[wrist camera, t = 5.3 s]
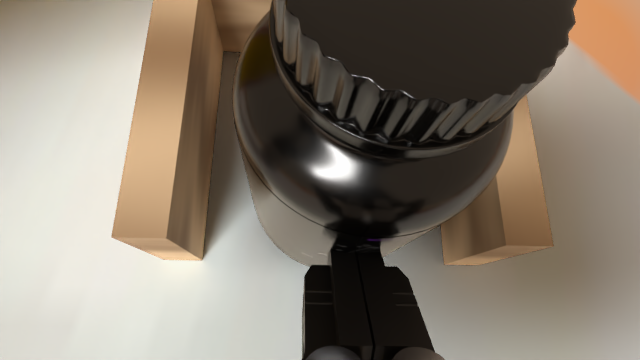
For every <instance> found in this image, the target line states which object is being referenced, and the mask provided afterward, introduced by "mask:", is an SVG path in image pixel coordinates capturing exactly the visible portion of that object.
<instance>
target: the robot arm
mask: <svg viewBox="0 0 640 360" xmlns="http://www.w3.org/2000/svg"><path fill="white" fill-rule="evenodd" d="M302 360H445V359H444V358H443V357H441V356H440V355H439V354H437V353H435V351H434V348H433V346H432V343H431V340H430V337H429V334H428V332H427V329H426V326H425V323H424V321H423V318H422V315H421V312H420V309H419V307H418V306H417V301H416V298H415V296H414V295H413V290H412V287H411V285H410V282H409V279H408V278H407V277H406V276H405V275H404V274H403V272H402V271H401V270H400V269H399V268H398V267H385V265H384V261H383V258H382V254H381V252H376V253H362V254H361V253H357V254H356V255H355V253H344V252H336V251H331V250H330V252H329V253H328V261H327V265H311V267H310V268H309V270H308V271H307V273H306V275H305V277H304V294H303V311H302Z"/></svg>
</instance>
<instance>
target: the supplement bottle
mask: <svg viewBox="0 0 640 360" xmlns="http://www.w3.org/2000/svg"><path fill="white" fill-rule="evenodd" d="M576 1H577V0H272V2H271V7H270V10H269V11H268V12H267V13H266V14H265V15H264V16H263V18H262V19H261V20H260V21H259V23H258V24H257V25H256V26H255V28H254V29H253V31H252V32H251V34H250V35H249V37H248V39H247V40H246V42H245V45H244V47H243V49H242V51H241V53H240V56H239V59H238V62H237V65H236V70H235V74H234V79H233V88H232V104H233V114H234V122H235V128H236V132H237V136H238V140H239V145H240V149H241V153H242V157H243V161H244V166H245V170H246V174H247V178H248V182H249V186H250V191H251V195H252V199H253V203H254V207H255V210H256V213H257V216H258V219H259V221H260V223H261V225H262V227H263V229H264V231H265V232H266V234H267V235H268V237H269V238H270V239H271V241H272V242H273V243H274V244H275V245H276V246H277V247H278V248H279V249H280V250H281V251H282V252H283V253H285V254H286V255H288V256H289V257H290V258H292V259H294V260H295V261H297V262H299V263H301V264H304V265H306V266H309V267H311V265H327V261H328V253H329V252H330V250H331V251H336V252H344V253H355V255H356V254H357V253H361V254H362V253H376V252H381V254H382V258H383V257H384V256H386V255H388V254H390V253H391V252H393V251H395V250H397V249H399V248H400V247H402V246H404V245H406V244H407V243H409V242H411V241H413V240H415V239H416V238H418V237H420V236H422V235H423V234H425V233H427V232H429V231H430V230H432V229H434V228H436V227H438V226H439V225H441V224H443V223H445V222H446V221H448V220H450V219H451V218H452V217H454V216H455V215H457V214H458V213H460V212H461V211H463V210H464V209H465V208H467V207H468V206H469V205H470V204H471V203H472V202H474V201H475V200H476V199H477V198H478V197H479V196H480V195H481V194H482V193H483V192H484V191H485V190H486V189H487V187H488V186H489V184H490V183H491V182H492V180H493V179H494V178H495V176H496V174H497V172H498V171H499V169H500V167H501V165H502V163H503V161H504V158H505V156H506V153H507V150H508V147H509V143H510V140H511V134H512V129H513V118H514V108H515V107H516V105H517V104H518V102H519V101H520V100H521V99H522V98H523V97H524V96H525V95H526V94H527V93H528V92H529V91H530V90H532V89H533V88H534V87H535V86H536V85H537V84H538V83H539V82H540V81H542V80H543V79H544V78H545V77H546V76H547V75H548V74H549V73H550V72H551V70H552V69H553V67H554V66H555V63H556V60H557V58H558V57H559V56H560V55H561V54H562V53H563V52H564V50H565V49H566V47H567V46H568V40H569V38H568V33H569V31H570V30H571V29H572V27H573V26H574V24H575V17H574V12H573V8H574V6H575V4H576Z"/></svg>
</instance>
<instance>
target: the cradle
mask: <svg viewBox="0 0 640 360" xmlns="http://www.w3.org/2000/svg"><path fill="white" fill-rule="evenodd" d="M271 2H272V0H153V6H152V11H151V17H150V23H149V28H148V34H147V40H146V45H145V51H144V56H143V62H142V68H141V73H140V79H139V85H138V90H137V96H136V102H135V107H134V113H133V118H132V124H131V130H130V135H129V141H128V147H127V152H126V158H125V164H124V169H123V175H122V180H121V186H120V192H119V197H118V203H117V209H116V214H115V220H114V226H113V231H112V238H115V239H117V240H119V241H122V242H124V243H126V244H129V245H131V246H133V247H136V248H138V249H140V250H143V251H145V252H147V253H150V254H152V255H154V256H157V257H159V258H161V259H164V260H202V258H203V248H204V238H205V229H206V219H207V209H208V199H209V189H210V179H211V170H212V160H213V150H214V140H215V130H216V120H217V111H218V101H219V91H220V81H221V71H222V61H223V51H230V52H241V51H242V49H243V47H244V45H245V42H246V40H247V39H248V37H249V35H250V34H251V32H252V31H253V29H254V28H255V26H256V25H257V24H258V23H259V21H260V20H261V19H262V18H263V16H264V15H265V14H266V13H267V12H268V11H269V10H270V7H271ZM440 226H441V237H442V247H443V258H444V265H481V264H485V263H489V262H493V261H497V260H501V259H505V258H509V257H513V256H517V255H521V254H525V253H529V252H533V251H537V250H541V249H545V248H549V247H554V245H553V240H552V234H551V229H550V223H549V218H548V212H547V207H546V201H545V196H544V190H543V185H542V179H541V174H540V168H539V162H538V157H537V151H536V146H535V140H534V135H533V129H532V124H531V118H530V113H529V107H528V102H527V96H526V95H525V96H524V97H523V98H522V99H521V100H520V101H519V102H518V104H517V105H516V107H515V108H514V118H513V129H512V134H511V140H510V143H509V147H508V150H507V153H506V156H505V158H504V161H503V163H502V165H501V167H500V169H499V171H498V172H497V174H496V176H495V178H494V179H493V180H492V182H491V183H490V184H489V186H488V187H487V189H486V190H485V191H484V192H483V193H482V194H481V195H480V196H479V197H478V198H477V199H476V200H475V201H474V202H472V203H471V204H470V205H469V206H468V207H467V208H465V209H464V210H463V211H461V212H460V213H458V214H457V215H455V216H454V217H452V218H451V219H450V220H448V221H446V222H445V223H443V224H441V225H440Z"/></svg>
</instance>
